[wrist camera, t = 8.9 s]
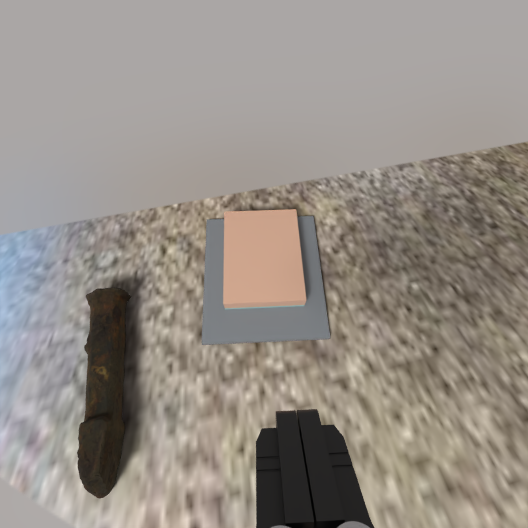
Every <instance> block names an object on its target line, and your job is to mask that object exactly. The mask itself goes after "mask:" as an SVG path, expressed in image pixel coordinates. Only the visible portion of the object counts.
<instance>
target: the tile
mask: <svg viewBox="0 0 528 528" xmlns="http://www.w3.org/2000/svg"><path fill="white" fill-rule="evenodd" d="M305 303H306V292H305V283H304V274H303V265H302V256H301V247H300V239H299V230H298V221H297V212H296V209H290V210H260V211H230V212H224V281H223V305H224V307H225V309H247V308H271V307H295V306H304V305H305Z"/></svg>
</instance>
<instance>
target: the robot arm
mask: <svg viewBox="0 0 528 528" xmlns="http://www.w3.org/2000/svg"><path fill="white" fill-rule="evenodd" d="M256 506H257V525H256V528H374V526H373V524H372V522H371V520H370V517H369V515H368V511H367V508H366V505H365V502H364V499H363V496H362V493H361V490H360V487H359V483H358V480H357V477H356V474H355V471H354V468H353V466H352V462H351V459H350V455H349V454H348V449H347V446H346V443H345V440H344V437H343V436H342V434H341V433H340V432H339V431H338V430H337V428H336V427H335V426H334V425H321V422H320V418H319V414H318V411H317V409H311V410H297V415H296V411H295V410H294V411H276V428H264V429H262V430H261V432H260V434H259V437H258V439H257V441H256Z"/></svg>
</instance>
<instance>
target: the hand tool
mask: <svg viewBox="0 0 528 528" xmlns="http://www.w3.org/2000/svg"><path fill="white" fill-rule="evenodd" d="M86 298H87V301H88V304H89V306H90V310H91V314H90V332H89V335H88V338H87V344H86V345H85V346H84V347H85V351H86V352H87V354H88V369H87V385H86V411H85V419H84V422H83V423H81V424H80V427H79V437H78V439H79V449H78V452H77V454H78V458H79V460H78V470H79V475H80V479H81V480H82V484H83V485H84V488H85V489H86V490H87V491H88V492H89V493H91V494H93V495H94V496H96V497H97V498H103V497H105V496H106V495H108V494H109V493H110V492H111V490H112V487H113V485H114V482H115V479H116V475H117V470H118V467H119V461H120V458H121V448H122V442H123V437H124V431H125V424H124V422H123V421H122V399H123V381H124V351H125V338H126V332H125V308H126V303H127V301H129V299H130V298H131V296H130V295H129V294H128V293H127V292H126V291H125V290H122V289H119V288H105V289H96V290H95V291H93V292H91V293H89V294H87V295H86Z"/></svg>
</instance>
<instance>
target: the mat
mask: <svg viewBox="0 0 528 528" xmlns="http://www.w3.org/2000/svg"><path fill="white" fill-rule="evenodd" d="M297 221H298V230H299V239H300V247H301V256H302V265H303V274H304V283H305V292H306V303H305V305H304V306H295V307H271V308H247V309H225V307H224V305H223V281H224V219H210V220H207V227H206V251H205V276H204V300H203V325H202V345H210V344H232V343H254V342H276V341H298V340H320V339H330V332H329V325H328V318H327V310H326V303H325V296H324V289H323V282H322V274H321V267H320V260H319V253H318V246H317V239H316V231H315V224H314V217H313V216H298V217H297Z"/></svg>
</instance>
